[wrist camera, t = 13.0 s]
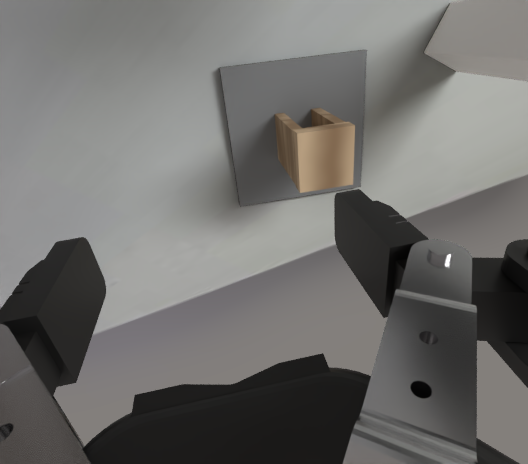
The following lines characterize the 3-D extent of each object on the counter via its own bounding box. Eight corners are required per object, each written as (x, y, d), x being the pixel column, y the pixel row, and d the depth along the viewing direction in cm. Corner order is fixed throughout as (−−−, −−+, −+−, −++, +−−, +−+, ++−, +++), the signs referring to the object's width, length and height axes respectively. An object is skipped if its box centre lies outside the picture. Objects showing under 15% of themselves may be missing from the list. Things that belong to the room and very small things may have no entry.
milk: (422, 52, 45) (587, 65, 26) (450, 1, 42) (655, -28, 23) (457, 72, 47) (635, 97, 28) (486, 23, 44) (702, 15, 25)
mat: (219, 67, 41) (219, 68, 41) (363, 49, 43) (366, 49, 43) (239, 204, 50) (240, 206, 50) (358, 184, 52) (360, 186, 52)
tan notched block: (278, 160, 47) (300, 193, 38) (274, 112, 44) (297, 133, 35) (321, 154, 48) (353, 184, 38) (320, 106, 45) (355, 125, 35)
